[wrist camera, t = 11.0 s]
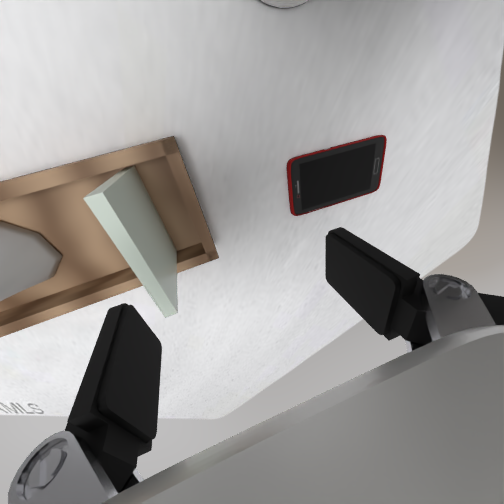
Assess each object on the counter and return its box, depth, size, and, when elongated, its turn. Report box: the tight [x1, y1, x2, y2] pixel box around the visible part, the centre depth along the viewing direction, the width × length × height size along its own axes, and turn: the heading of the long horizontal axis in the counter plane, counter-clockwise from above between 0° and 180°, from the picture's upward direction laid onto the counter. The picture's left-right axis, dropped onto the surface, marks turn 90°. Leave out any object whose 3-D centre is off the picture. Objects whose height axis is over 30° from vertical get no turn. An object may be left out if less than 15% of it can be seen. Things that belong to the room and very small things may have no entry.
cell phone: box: [287, 135, 387, 216], centre depth 29 cm, size 8×15×1 cm, turn 101°
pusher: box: [83, 166, 178, 318], centre depth 18 cm, size 1×10×11 cm, turn 13°
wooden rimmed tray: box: [0, 136, 219, 337], centre depth 21 cm, size 28×13×5 cm, turn 103°
